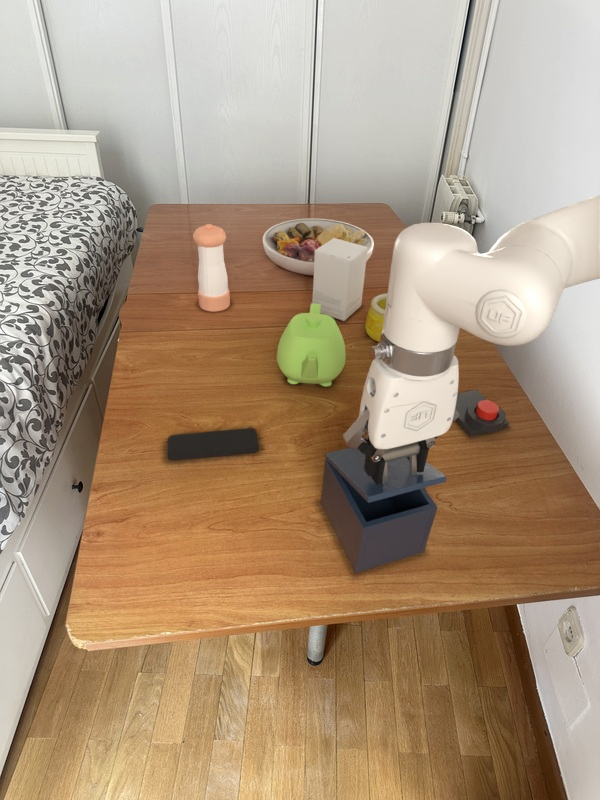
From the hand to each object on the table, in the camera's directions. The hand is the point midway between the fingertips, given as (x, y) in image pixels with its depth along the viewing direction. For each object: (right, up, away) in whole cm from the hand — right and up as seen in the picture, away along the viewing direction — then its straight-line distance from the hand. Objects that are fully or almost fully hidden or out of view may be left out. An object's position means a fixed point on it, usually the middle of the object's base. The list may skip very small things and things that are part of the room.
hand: (394, 469), depth 67 cm
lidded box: (-1, -10, +11) cm, 15 cm away
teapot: (-10, +14, +40) cm, 44 cm away
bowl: (-7, +48, +82) cm, 96 cm away
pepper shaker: (-32, +31, +60) cm, 75 cm away
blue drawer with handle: (-1, 0, +3) cm, 4 cm away
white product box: (-3, +30, +60) cm, 68 cm away
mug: (+9, +22, +51) cm, 57 cm away
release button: (+21, +6, +28) cm, 36 cm away
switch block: (+20, +6, +32) cm, 38 cm away
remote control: (-26, +1, +23) cm, 35 cm away
